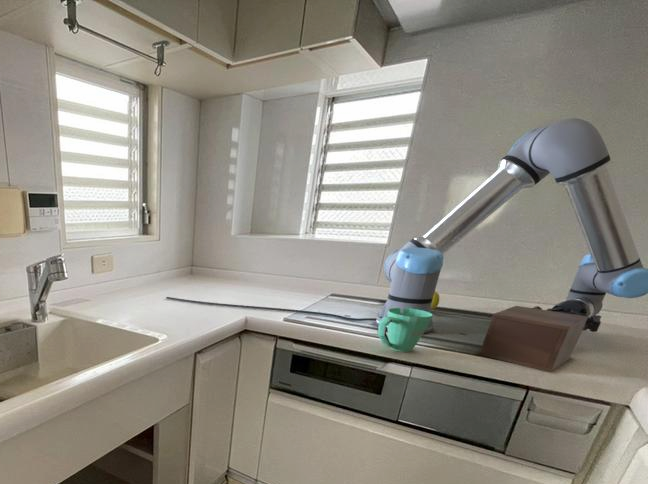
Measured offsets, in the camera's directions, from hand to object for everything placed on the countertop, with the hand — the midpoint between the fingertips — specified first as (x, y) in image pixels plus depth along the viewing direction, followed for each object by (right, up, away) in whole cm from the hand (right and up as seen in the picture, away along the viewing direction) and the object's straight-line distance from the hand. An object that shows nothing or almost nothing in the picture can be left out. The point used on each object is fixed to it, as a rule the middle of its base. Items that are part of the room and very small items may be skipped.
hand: (546, 324), depth 104 cm
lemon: (-2, +10, +41) cm, 43 cm away
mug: (-38, -7, +3) cm, 39 cm away
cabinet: (-8, -9, -2) cm, 12 cm away
